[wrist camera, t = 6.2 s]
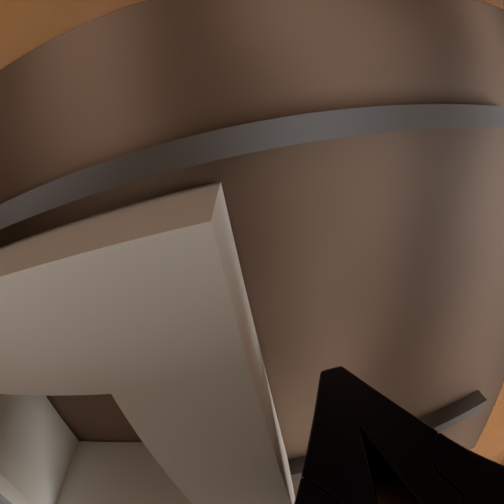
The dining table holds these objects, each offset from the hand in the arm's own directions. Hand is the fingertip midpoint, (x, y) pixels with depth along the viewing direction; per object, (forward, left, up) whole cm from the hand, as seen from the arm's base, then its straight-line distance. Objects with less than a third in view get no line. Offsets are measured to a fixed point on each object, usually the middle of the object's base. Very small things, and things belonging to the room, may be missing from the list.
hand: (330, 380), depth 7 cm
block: (+7, 0, -1) cm, 7 cm away
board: (+3, +1, -3) cm, 4 cm away
